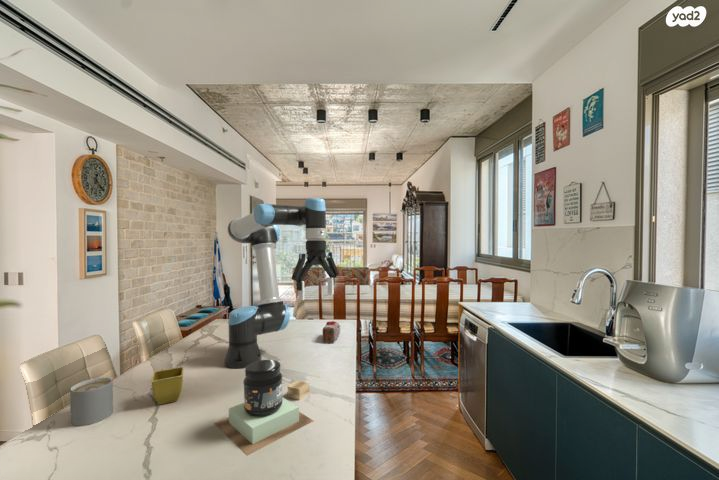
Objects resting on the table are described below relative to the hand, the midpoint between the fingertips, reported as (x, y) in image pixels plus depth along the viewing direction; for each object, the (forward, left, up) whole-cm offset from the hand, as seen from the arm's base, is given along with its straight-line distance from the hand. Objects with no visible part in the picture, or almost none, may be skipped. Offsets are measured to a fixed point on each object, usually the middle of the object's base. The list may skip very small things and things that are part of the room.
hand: (316, 296), depth 120 cm
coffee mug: (-33, -61, -32) cm, 76 cm away
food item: (-35, +37, -32) cm, 60 cm away
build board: (+12, -29, -32) cm, 44 cm away
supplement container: (+12, -29, -26) cm, 41 cm away
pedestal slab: (+12, -29, -30) cm, 43 cm away
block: (+6, -13, -32) cm, 35 cm away
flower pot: (-26, -43, -32) cm, 59 cm away
